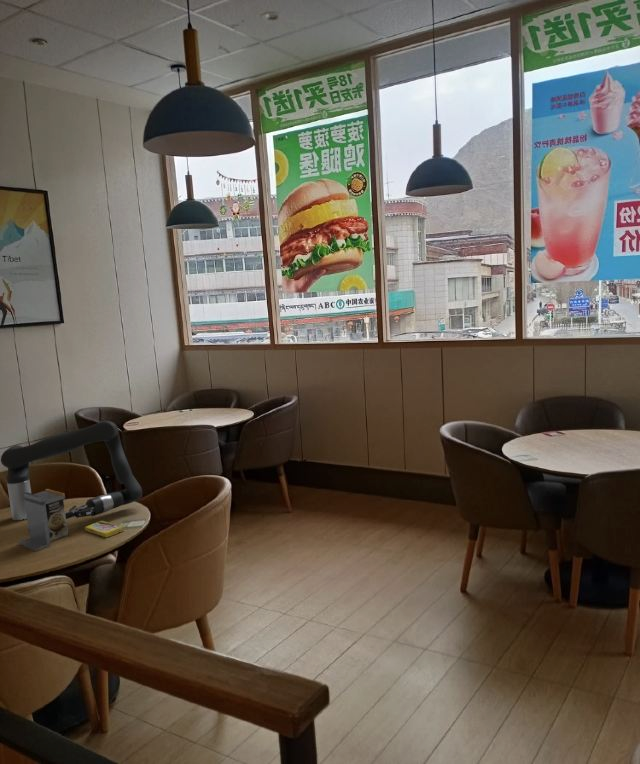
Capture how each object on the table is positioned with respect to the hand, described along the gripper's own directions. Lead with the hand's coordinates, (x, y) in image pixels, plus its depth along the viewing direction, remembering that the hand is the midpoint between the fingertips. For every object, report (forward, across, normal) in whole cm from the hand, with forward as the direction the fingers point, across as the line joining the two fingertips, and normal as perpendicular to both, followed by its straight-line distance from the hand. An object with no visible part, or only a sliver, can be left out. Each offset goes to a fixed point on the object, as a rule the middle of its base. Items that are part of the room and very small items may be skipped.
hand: (63, 517), depth 257 cm
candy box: (-14, +13, +6) cm, 20 cm away
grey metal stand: (+9, 0, +7) cm, 12 cm away
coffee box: (+4, 0, +8) cm, 9 cm away
